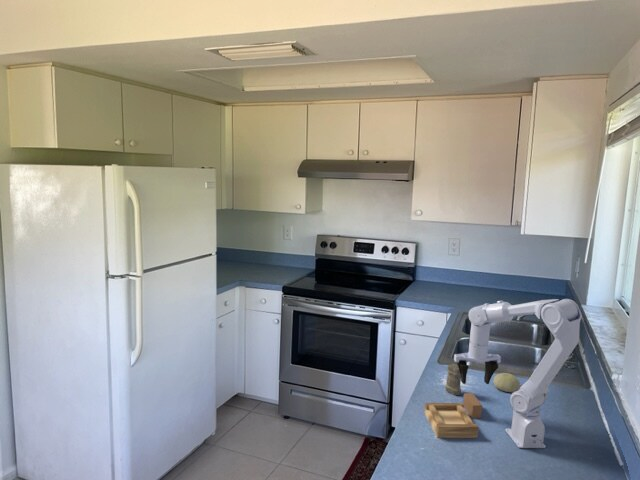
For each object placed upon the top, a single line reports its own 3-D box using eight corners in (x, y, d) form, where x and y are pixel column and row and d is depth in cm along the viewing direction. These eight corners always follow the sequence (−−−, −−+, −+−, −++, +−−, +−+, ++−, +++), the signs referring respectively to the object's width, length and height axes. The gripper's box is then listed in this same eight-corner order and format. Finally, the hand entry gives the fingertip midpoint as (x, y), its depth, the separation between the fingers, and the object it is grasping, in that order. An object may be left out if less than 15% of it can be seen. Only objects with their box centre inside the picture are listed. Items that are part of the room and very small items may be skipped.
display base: (477, 437, 146) (478, 426, 145) (437, 437, 145) (438, 426, 144) (461, 413, 160) (462, 403, 159) (424, 413, 159) (425, 402, 158)
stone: (448, 388, 177) (450, 361, 175) (462, 394, 172) (464, 366, 171) (442, 391, 174) (445, 364, 173) (457, 397, 170) (459, 369, 169)
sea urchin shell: (489, 385, 176) (495, 364, 180) (491, 393, 182) (496, 373, 186) (516, 392, 172) (521, 371, 175) (518, 400, 177) (522, 380, 181)
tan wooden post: (481, 418, 157) (482, 405, 156) (471, 418, 157) (473, 405, 156) (472, 405, 165) (473, 393, 164) (462, 405, 165) (464, 393, 164)
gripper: (496, 338, 161) (491, 377, 164) (452, 337, 160) (448, 376, 163) (505, 346, 154) (500, 387, 157) (459, 345, 153) (455, 386, 156)
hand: (474, 382), depth 159 cm, fingers open, 7 cm apart
